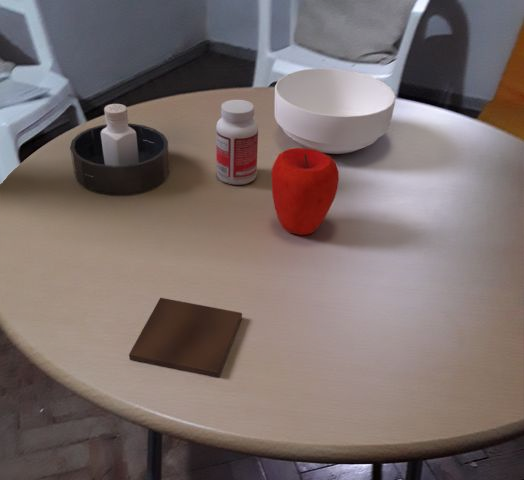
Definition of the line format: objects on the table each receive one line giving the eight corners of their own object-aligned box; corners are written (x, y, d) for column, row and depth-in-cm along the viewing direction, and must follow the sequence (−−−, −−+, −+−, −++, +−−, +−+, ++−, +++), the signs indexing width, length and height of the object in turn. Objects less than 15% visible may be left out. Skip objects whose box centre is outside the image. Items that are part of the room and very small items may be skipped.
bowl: (252, 125, 110) (254, 76, 105) (346, 109, 117) (353, 62, 112) (308, 177, 98) (313, 125, 92) (409, 155, 105) (420, 105, 99)
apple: (333, 214, 91) (344, 143, 83) (328, 248, 84) (338, 175, 77) (273, 206, 91) (278, 135, 84) (263, 239, 85) (267, 166, 78)
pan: (58, 186, 92) (53, 158, 89) (98, 144, 102) (94, 117, 99) (150, 202, 91) (148, 173, 88) (181, 157, 101) (180, 130, 98)
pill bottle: (260, 170, 99) (264, 100, 91) (250, 189, 95) (253, 117, 87) (222, 164, 100) (223, 94, 92) (211, 182, 96) (210, 111, 88)
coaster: (129, 359, 68) (128, 354, 67) (160, 302, 75) (160, 297, 74) (218, 377, 66) (218, 372, 66) (242, 317, 73) (242, 312, 73)
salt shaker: (120, 178, 94) (113, 116, 88) (103, 169, 96) (95, 107, 89) (141, 169, 97) (135, 108, 90) (124, 160, 98) (117, 99, 92)
